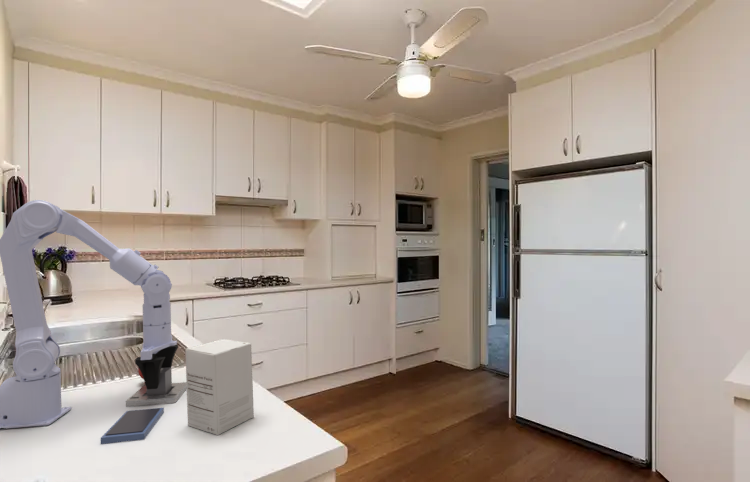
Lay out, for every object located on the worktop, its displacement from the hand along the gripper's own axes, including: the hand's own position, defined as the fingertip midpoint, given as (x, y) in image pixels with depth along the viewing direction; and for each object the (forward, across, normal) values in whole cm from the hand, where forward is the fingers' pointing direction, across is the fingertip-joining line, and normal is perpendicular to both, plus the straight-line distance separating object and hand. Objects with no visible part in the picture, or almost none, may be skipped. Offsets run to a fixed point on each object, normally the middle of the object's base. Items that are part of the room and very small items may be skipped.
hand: (158, 382), depth 95 cm
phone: (+4, -16, -1) cm, 16 cm away
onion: (+3, +10, +5) cm, 12 cm away
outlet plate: (+3, 0, 0) cm, 3 cm away
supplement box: (+3, -17, -17) cm, 24 cm away
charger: (+3, 0, 0) cm, 3 cm away
